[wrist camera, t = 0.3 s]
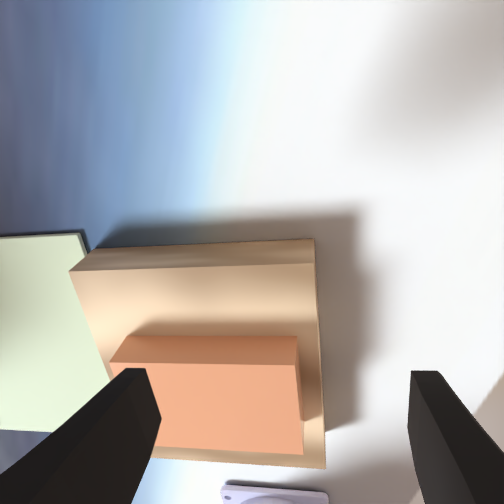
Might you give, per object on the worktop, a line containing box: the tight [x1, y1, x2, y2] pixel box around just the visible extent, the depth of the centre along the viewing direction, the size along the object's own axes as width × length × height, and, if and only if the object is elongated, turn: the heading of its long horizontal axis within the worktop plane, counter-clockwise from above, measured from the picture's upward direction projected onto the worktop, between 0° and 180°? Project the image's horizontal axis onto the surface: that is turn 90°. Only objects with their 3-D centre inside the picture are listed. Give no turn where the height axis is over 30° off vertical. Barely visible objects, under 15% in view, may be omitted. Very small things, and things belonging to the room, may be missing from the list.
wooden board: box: [68, 239, 326, 469], centre depth 22 cm, size 14×12×2 cm
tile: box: [109, 336, 305, 455], centre depth 20 cm, size 6×9×2 cm, turn 97°
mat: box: [0, 233, 110, 432], centre depth 25 cm, size 16×14×2 cm
